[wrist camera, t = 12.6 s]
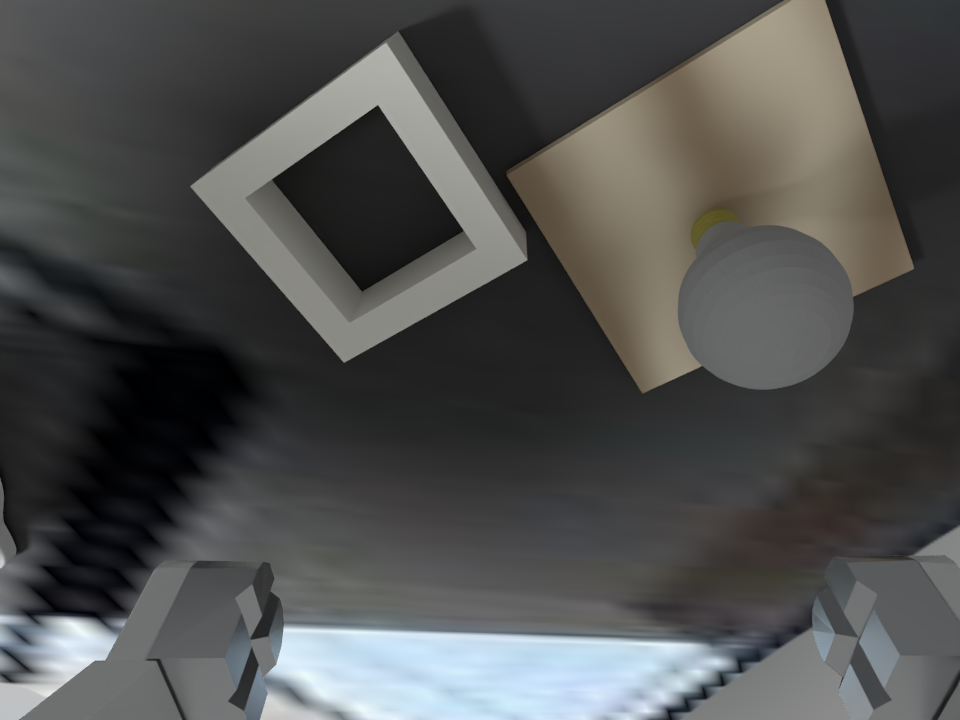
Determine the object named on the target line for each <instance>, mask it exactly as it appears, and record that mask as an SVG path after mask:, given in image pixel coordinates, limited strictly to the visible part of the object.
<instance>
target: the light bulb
mask: <svg viewBox="0 0 960 720" xmlns="http://www.w3.org/2000/svg"><path fill="white" fill-rule="evenodd" d="M691 242H692V244H693V247H694V248H695V249H696V257H697V258H696V259H695V260H694V262H693V263H692V264H691V266H690V267H689V269H688V270H687V272H686V274H685V276H684V278H683V281H682V283H681V287H680V291H679V297H678V322H679V327H680V330H681V333H682V335H683V338H684V340H685V342H686V344H687V347H688V349H689V350H690V352H691V354H692V355H693V357H694V358H695V359H696V360H697V361H698V362H699V363H700V364H701V365H702V366H703V367H704V368H706V369H707V370H708V371H710V372H711V373H712V374H714V375H715V376H717V377H718V378H720V379H722V380H724V381H726V382H729V383H732V384H734V385H737V386H740V387H744V388H749V389H761V390H764V389H776V388H781V387H786V386H790V385H794V384H796V383H799V382H801V381H804V380H806V379H808V378H810V377H811V376H813V375H815V374H816V373H817V372H819V371H820V370H821V369H823V368H824V367H825V366H826V365H827V364H828V363H829V362H830V361H831V360H832V359H833V358H834V357H835V356H836V355H837V354H838V352H839V351H840V350H841V348H842V346H843V345H844V343H845V341H846V339H847V337H848V334H849V331H850V327H851V323H852V319H853V312H854V303H853V295H852V287H851V283H850V279H849V277H848V274H847V272H846V271H845V269H844V267H843V266H842V265H841V263H840V262H839V261H838V260H837V258H836V257H835V256H834V255H833V253H832V252H831V251H830V250H829V249H828V248H827V247H826V246H825V245H824V244H822V243H821V242H820V241H818V240H816V239H815V238H813V237H811V236H809V235H806V234H804V233H802V232H800V231H797V230H795V229H792V228H788V227H784V226H777V225H760V226H753V227H747V226H746V225H744V224H742V223H741V221H740V220H739V219H738V217H737V216H736V215H735V214H734V213H733V212H731V211H729V210H727V209H722V208H715V209H711V210H708V211H706V212H705V213H703V214H702V215H701V216H700V217H699V218H698V219H697V220H696V221H695V223H694V225H693V227H692V230H691Z"/></svg>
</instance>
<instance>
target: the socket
mask: <svg viewBox="0 0 960 720" xmlns="http://www.w3.org/2000/svg"><path fill="white" fill-rule="evenodd" d="M377 105H378V106H379V107H380V109H381V110H382V112H383V113H384V115H385V116H386V118H387V119H388V120H389V122H390V123H391V125H392V126H393V128H394V129H395V131H396V132H397V134H398V135H399V137H400V138H401V139H402V141H403V142H404V144H405V145H406V147H407V148H408V150H409V151H410V153H411V154H412V156H413V157H414V158H415V160H416V161H417V163H418V164H419V166H420V167H421V169H422V170H423V172H424V173H425V175H426V176H427V177H428V179H429V180H430V182H431V183H432V185H433V186H434V188H435V189H436V191H437V192H438V194H439V195H440V196H441V198H442V199H443V201H444V202H445V204H446V205H447V207H448V208H449V210H450V211H451V213H452V214H453V215H454V217H455V218H456V220H457V221H458V223H459V224H460V226H461V227H462V229H463V230H464V231H463V232H461V233H460V234H458V235H456V236H455V237H453V238H451V239H450V240H448V241H446V242H445V243H443V244H441V245H440V246H438V247H436V248H435V249H433V250H431V251H430V252H428V253H426V254H424V255H423V256H421V257H419V258H418V259H416V260H414V261H413V262H411V263H409V264H408V265H406V266H404V267H403V268H401V269H399V270H398V271H396V272H394V273H393V274H391V275H389V276H388V277H386V278H384V279H383V280H381V281H379V282H378V283H376V284H374V285H372V286H371V287H369V288H367V289H366V290H364V291H361V290H360V289H359V287H358V286H357V285H356V284H355V282H354V281H353V280H352V279H351V277H350V276H349V275H348V274H347V272H346V271H345V270H344V269H343V267H342V266H341V265H340V264H339V262H338V261H337V260H336V259H335V257H334V256H333V255H332V254H331V253H330V251H329V250H328V249H327V248H326V246H325V245H324V244H323V243H322V241H321V240H320V239H319V238H318V236H317V235H316V234H315V233H314V231H313V230H312V229H311V228H310V226H309V225H308V224H307V223H306V221H305V220H304V219H303V218H302V217H301V215H300V214H299V213H298V212H297V210H296V209H295V208H294V207H293V205H292V204H291V203H290V202H289V200H288V199H287V198H286V197H285V195H284V194H283V193H282V192H281V190H280V189H279V188H278V187H277V185H276V184H275V183H274V182H273V181H272V179H273V178H274V177H276V176H277V175H279V174H280V173H282V172H283V171H284V170H286V169H287V168H289V167H290V166H292V165H293V164H294V163H296V162H297V161H299V160H300V159H302V158H303V157H304V156H306V155H307V154H309V153H310V152H312V151H313V150H314V149H316V148H317V147H319V146H320V145H322V144H323V143H324V142H326V141H327V140H329V139H330V138H331V137H333V136H334V135H336V134H337V133H339V132H340V131H341V130H343V129H344V128H346V127H347V126H349V125H350V124H351V123H353V122H354V121H356V120H357V119H359V118H360V117H361V116H363V115H364V114H366V113H367V112H369V111H370V110H371V109H373V108H374V107H376V106H377ZM190 187H191V188H192V189H193V190H194V191H195V192H196V194H197V195H198V196H199V197H200V198H201V199H202V200H203V202H204V203H205V204H206V205H207V206H208V207H209V209H210V210H211V211H212V212H213V213H214V214H215V215H216V217H217V218H218V219H219V220H220V221H221V222H222V223H223V225H224V226H225V227H226V228H227V229H228V230H229V231H230V233H231V234H232V235H233V236H234V237H235V238H236V239H237V241H238V242H239V243H240V244H241V245H242V246H243V247H244V249H245V250H246V251H247V252H248V253H249V254H250V255H251V257H252V258H253V259H254V260H255V261H256V262H257V263H258V265H259V266H260V267H261V268H262V269H263V270H264V271H265V273H266V274H267V275H268V276H269V277H270V278H271V280H272V281H273V282H274V283H275V284H276V285H277V286H278V288H279V289H280V290H281V291H282V292H283V293H284V294H285V296H286V297H287V298H288V299H289V300H290V301H291V302H292V304H293V305H294V306H295V307H296V308H297V309H298V310H299V312H300V313H301V314H302V315H303V316H304V317H305V318H306V320H307V321H308V322H309V323H310V324H311V325H312V326H313V328H314V329H315V330H316V331H317V332H318V333H319V334H320V336H321V337H322V338H323V339H324V340H325V341H326V343H327V344H328V345H329V346H330V347H331V348H332V349H333V351H334V352H335V353H336V354H337V355H338V356H339V357H340V359H341V360H342V361H343V362H344V363H345V362H346V361H348V360H350V359H352V358H354V357H355V356H357V355H359V354H361V353H362V352H364V351H366V350H368V349H370V348H371V347H373V346H375V345H377V344H379V343H380V342H382V341H384V340H386V339H388V338H389V337H391V336H393V335H395V334H396V333H398V332H400V331H402V330H404V329H405V328H407V327H409V326H411V325H413V324H414V323H416V322H418V321H420V320H421V319H423V318H425V317H427V316H429V315H430V314H432V313H434V312H436V311H438V310H439V309H441V308H443V307H445V306H446V305H448V304H450V303H452V302H454V301H455V300H457V299H459V298H461V297H463V296H464V295H466V294H468V293H470V292H472V291H473V290H475V289H477V288H479V287H480V286H482V285H484V284H486V283H488V282H489V281H491V280H493V279H495V278H497V277H498V276H500V275H502V274H504V273H505V272H507V271H509V270H511V269H513V268H514V267H516V266H518V265H520V264H522V263H523V262H525V261H527V242H526V231H525V230H524V228H523V227H522V225H521V223H520V222H519V220H518V219H517V217H516V216H515V214H514V212H513V211H512V209H511V208H510V206H509V205H508V203H507V201H506V200H505V198H504V197H503V195H502V194H501V192H500V190H499V189H498V187H497V186H496V184H495V182H494V181H493V179H492V178H491V176H490V175H489V173H488V171H487V170H486V168H485V167H484V165H483V164H482V162H481V160H480V159H479V157H478V156H477V154H476V153H475V151H474V149H473V148H472V146H471V145H470V143H469V142H468V140H467V138H466V137H465V135H464V134H463V132H462V131H461V129H460V127H459V126H458V124H457V123H456V121H455V120H454V118H453V116H452V115H451V113H450V112H449V110H448V108H447V107H446V105H445V104H444V102H443V101H442V99H441V97H440V96H439V94H438V93H437V91H436V90H435V88H434V86H433V85H432V83H431V82H430V80H429V79H428V77H427V75H426V74H425V72H424V71H423V69H422V68H421V66H420V64H419V63H418V61H417V60H416V58H415V57H414V55H413V53H412V52H411V50H410V49H409V47H408V46H407V44H406V42H405V41H404V39H403V38H402V36H401V35H400V33H399V31H397V32H396V33H395V34H393V35H392V36H391V37H389V38H388V39H387V40H385V41H384V42H382V43H381V44H380V45H378V46H377V47H376V48H374V49H373V50H372V51H370V52H369V53H368V54H366V55H365V56H363V57H362V58H361V59H359V60H358V61H357V62H355V63H354V64H353V65H351V66H350V67H349V68H347V69H346V70H344V71H343V72H342V73H340V74H339V75H338V76H336V77H335V78H334V79H332V80H331V81H329V82H328V83H327V84H325V85H324V86H323V87H321V88H320V89H319V90H317V91H316V92H315V93H313V94H312V95H310V96H309V97H308V98H306V99H305V100H304V101H302V102H301V103H300V104H298V105H297V106H296V107H294V108H293V109H291V110H290V111H289V112H287V113H286V114H285V115H283V116H282V117H281V118H279V119H278V120H277V121H275V122H274V123H272V124H271V125H270V126H268V127H267V128H266V129H264V130H263V131H262V132H260V133H259V134H257V135H256V136H255V137H253V138H252V139H251V140H249V141H248V142H247V143H245V144H244V145H243V146H241V147H240V148H238V149H237V150H236V151H234V152H233V153H232V154H230V155H229V156H228V157H226V158H225V159H224V160H222V161H221V162H219V163H218V164H217V165H216V166H214V167H213V168H212V169H211V170H210V171H208V172H207V173H206V174H205V175H203V176H202V177H201V178H200V179H199V180H197V181H196V182H195V183H194V184H192V185H191V186H190Z"/></svg>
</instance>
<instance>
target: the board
mask: <svg viewBox="0 0 960 720" xmlns="http://www.w3.org/2000/svg"><path fill="white" fill-rule="evenodd" d="M507 177H508V178H509V180H510V182H511V183H512V185H513V186H514V188H515V190H516V191H517V193H518V195H519V196H520V198H521V199H522V201H523V203H524V204H525V206H526V207H527V209H528V211H529V212H530V214H531V215H532V217H533V219H534V220H535V222H536V223H537V225H538V227H539V228H540V230H541V231H542V233H543V235H544V236H545V238H546V240H547V241H548V243H549V244H550V246H551V248H552V249H553V251H554V252H555V254H556V256H557V257H558V259H559V260H560V262H561V264H562V265H563V267H564V268H565V270H566V272H567V273H568V275H569V276H570V278H571V280H572V281H573V283H574V284H575V286H576V288H577V289H578V291H579V293H580V294H581V296H582V297H583V299H584V301H585V302H586V304H587V305H588V307H589V309H590V310H591V312H592V313H593V315H594V317H595V318H596V320H597V321H598V323H599V325H600V326H601V328H602V329H603V331H604V333H605V334H606V336H607V338H608V339H609V341H610V342H611V344H612V346H613V347H614V349H615V350H616V352H617V354H618V355H619V357H620V358H621V360H622V362H623V363H624V365H625V366H626V368H627V370H628V371H629V373H630V374H631V376H632V378H633V379H634V381H635V382H636V384H637V386H638V387H639V389H640V391H641V392H642V393H644V392H647V391H649V390H651V389H653V388H655V387H658V386H660V385H662V384H664V383H666V382H668V381H671V380H673V379H675V378H677V377H679V376H682V375H684V374H686V373H688V372H690V371H692V370H695V369H697V368H699V367H701V366H702V365H701V364H700V363H699V362H698V361H697V360H696V359H695V358H694V357H693V355H692V354H691V352H690V350H689V349H688V347H687V344H686V342H685V340H684V338H683V335H682V333H681V330H680V327H679V322H678V297H679V291H680V287H681V283H682V281H683V278H684V276H685V274H686V272H687V270H688V269H689V267H690V266H691V264H692V263H693V262H694V260H695V259H696V258H697V257H696V249H695V248H694V247H693V244H692V242H691V230H692V227H693V225H694V223H695V221H696V220H697V219H698V218H699V217H700V216H701V215H702V214H703V213H705V212H706V211H708V210H711V209H715V208H722V209H727V210H729V211H731V212H733V213H734V214H735V215H736V216H737V217H738V219H739V220H740V221H741V223H742V224H744V225H746V226H747V227H753V226H760V225H777V226H784V227H788V228H792V229H795V230H797V231H800V232H802V233H804V234H806V235H809V236H811V237H813V238H815V239H816V240H818V241H820V242H821V243H822V244H824V245H825V246H826V247H827V248H828V249H829V250H830V251H831V252H832V253H833V255H834V256H835V257H836V258H837V260H838V261H839V262H840V263H841V265H842V266H843V267H844V269H845V271H846V272H847V274H848V277H849V279H850V283H851V287H852V295H853V297H854V296H856V295H858V294H860V293H863V292H865V291H867V290H869V289H871V288H874V287H876V286H878V285H880V284H882V283H884V282H887V281H889V280H891V279H893V278H895V277H898V276H900V275H902V274H904V273H906V272H908V271H911V270H913V269H914V266H913V263H912V260H911V257H910V254H909V251H908V248H907V245H906V242H905V239H904V236H903V233H902V230H901V227H900V224H899V221H898V218H897V215H896V212H895V209H894V206H893V203H892V200H891V197H890V194H889V191H888V188H887V185H886V182H885V179H884V176H883V173H882V170H881V167H880V164H879V161H878V158H877V155H876V152H875V149H874V146H873V143H872V140H871V137H870V134H869V131H868V128H867V125H866V122H865V119H864V116H863V113H862V110H861V107H860V104H859V101H858V98H857V95H856V92H855V89H854V86H853V83H852V80H851V77H850V74H849V71H848V68H847V65H846V62H845V59H844V56H843V53H842V50H841V47H840V44H839V41H838V38H837V35H836V32H835V29H834V26H833V23H832V20H831V17H830V14H829V11H828V8H827V5H826V2H825V0H784V1H782V2H780V3H779V4H777V5H775V6H774V7H772V8H771V9H769V10H767V11H766V12H764V13H762V14H761V15H759V16H758V17H756V18H754V19H753V20H751V21H749V22H748V23H746V24H745V25H743V26H741V27H740V28H738V29H736V30H735V31H733V32H732V33H730V34H728V35H727V36H725V37H723V38H722V39H720V40H719V41H717V42H715V43H714V44H712V45H710V46H709V47H707V48H705V49H704V50H702V51H701V52H699V53H697V54H696V55H694V56H692V57H691V58H689V59H688V60H686V61H684V62H683V63H681V64H679V65H678V66H676V67H675V68H673V69H671V70H670V71H668V72H666V73H665V74H663V75H662V76H660V77H658V78H657V79H655V80H653V81H652V82H650V83H649V84H647V85H645V86H644V87H642V88H640V89H639V90H637V91H636V92H634V93H632V94H631V95H629V96H627V97H626V98H624V99H623V100H621V101H619V102H618V103H616V104H614V105H613V106H611V107H610V108H608V109H606V110H605V111H603V112H601V113H600V114H598V115H597V116H595V117H593V118H592V119H590V120H588V121H587V122H585V123H584V124H582V125H580V126H579V127H577V128H575V129H574V130H572V131H571V132H569V133H567V134H566V135H564V136H562V137H561V138H559V139H558V140H556V141H554V142H553V143H551V144H549V145H548V146H546V147H545V148H543V149H541V150H540V151H538V152H536V153H535V154H533V155H532V156H530V157H528V158H527V159H525V160H523V161H522V162H520V163H519V164H517V165H515V166H514V167H512V168H510V169H509V170H507Z"/></svg>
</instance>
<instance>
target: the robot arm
mask: <svg viewBox="0 0 960 720" xmlns="http://www.w3.org/2000/svg"><path fill="white" fill-rule="evenodd" d="M3 506H4V493H3V487H2V483H1V479H0V568H2V567H4V566H5V565H6V564H7V563H8V562H9V561H10V560H11V559H12V558H13V557H14V556H15V555H16V546H15V543H14V541H13V539H12V537H11V535H10V533H9V531H8V529H7V527H6V525H5V524H4V520H3ZM824 576H825V577H826V579H827V581H828V583H829V585H830V586H829V587H828V588H827V589H825V590H824V591H822V592H821V593H820V594H818V595H817V596H816V600H815V603H814V607H813V610H812V622H813V633H814V636H815V640H816V644H817V647H818V649H819V651H820V654H821V656H822V658H823V660H824V662H825V663H826V664H827V665H828V666H829V667H831V668H832V669H833V670H834V671H835V672H837V673H838V674H839V675H841V676H842V680H841V684H840V687H839V691H838V693H839V695H840V697H841V699H842V701H843V704H844V706H845V708H846V710H847V712H848V714H849V716H850V719H851V720H960V568H959V567H958V566H957V564H956V563H955V562H954V561H952V560H951V559H950V558H948V557H947V556H906V557H905V556H851V557H835V558H834V559H832V560H831V561H830V562H829V563H828V566H827V568H826V571H825V574H824ZM273 581H274V576H273V573H272V570H271V567H270V563H266V562H239V561H163V562H162V563H161V564H160V565H159V566H158V567H157V568H156V569H155V570H154V571H153V573H152V575H151V577H150V579H149V581H148V582H147V584H146V586H145V588H144V590H143V592H142V594H141V595H140V597H139V599H138V601H137V603H136V605H135V607H134V608H133V610H132V612H131V614H130V616H129V618H128V620H127V621H126V623H125V625H124V627H123V629H122V631H121V633H120V634H119V636H118V638H117V640H116V642H115V644H114V646H113V647H112V649H111V651H110V653H109V655H108V657H107V659H106V660H105V661H94V662H93V663H91V664H90V665H89V666H88V667H86V668H85V669H84V670H82V671H81V672H80V673H79V674H77V675H76V676H75V677H73V678H72V679H71V680H70V681H68V682H67V683H66V684H64V685H63V686H62V687H61V688H59V689H58V690H57V691H55V692H54V693H53V694H52V695H50V696H49V697H48V698H46V699H45V700H44V701H43V702H41V703H40V704H39V705H37V706H36V707H35V708H34V709H32V710H31V711H30V712H29V713H27V714H26V715H25V716H23V717H22V718H21V719H19V720H260V717H261V714H262V710H263V707H264V704H265V700H266V697H267V694H268V693H267V690H266V686H265V683H264V680H263V677H264V676H265V675H266V674H267V673H268V672H269V671H270V670H271V669H272V668H273V667H274V666H275V665H276V663H277V660H278V656H279V653H280V649H281V645H282V636H283V627H284V621H283V609H282V605H281V601H280V599H279V598H278V597H277V596H276V595H274V594H273V593H272V592H270V590H271V587H272V584H273Z"/></svg>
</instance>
